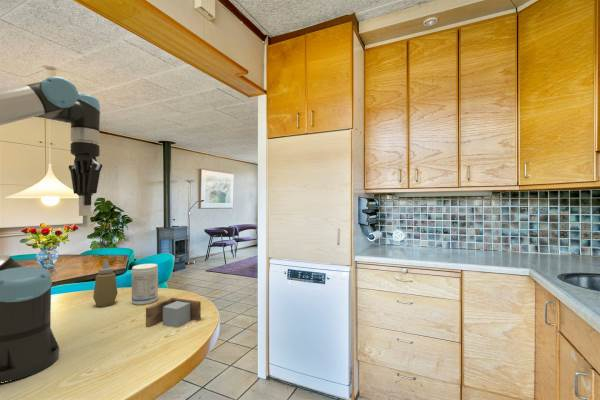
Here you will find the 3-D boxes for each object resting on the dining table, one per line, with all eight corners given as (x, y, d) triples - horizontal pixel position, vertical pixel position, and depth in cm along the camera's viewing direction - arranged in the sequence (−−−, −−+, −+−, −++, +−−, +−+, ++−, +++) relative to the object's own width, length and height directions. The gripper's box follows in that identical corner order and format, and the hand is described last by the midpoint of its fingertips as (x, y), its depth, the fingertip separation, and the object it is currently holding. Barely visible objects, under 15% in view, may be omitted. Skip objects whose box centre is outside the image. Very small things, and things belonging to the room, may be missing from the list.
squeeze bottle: (122, 301, 116) (122, 257, 117) (107, 308, 108) (107, 261, 109) (104, 300, 117) (104, 257, 118) (87, 307, 109) (88, 261, 109)
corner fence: (176, 332, 87) (176, 312, 87) (145, 326, 92) (145, 307, 92) (200, 318, 97) (200, 301, 97) (171, 314, 102) (171, 297, 102)
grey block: (177, 327, 90) (177, 309, 91) (162, 325, 93) (162, 306, 93) (190, 320, 96) (190, 303, 96) (176, 318, 98) (176, 301, 98)
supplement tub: (136, 298, 120) (136, 264, 120) (160, 296, 122) (160, 262, 122) (128, 306, 110) (128, 268, 110) (154, 304, 112) (154, 267, 113)
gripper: (110, 144, 93) (110, 215, 92) (84, 147, 97) (83, 215, 97) (86, 139, 86) (86, 216, 85) (59, 142, 90) (58, 216, 90)
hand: (84, 215), depth 91 cm, fingers closed
